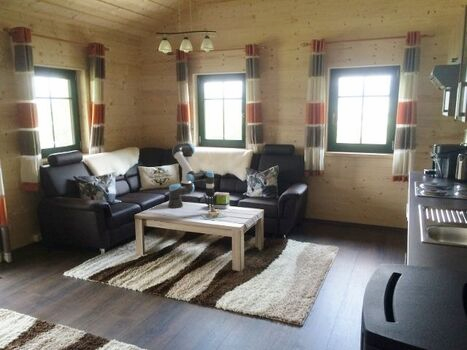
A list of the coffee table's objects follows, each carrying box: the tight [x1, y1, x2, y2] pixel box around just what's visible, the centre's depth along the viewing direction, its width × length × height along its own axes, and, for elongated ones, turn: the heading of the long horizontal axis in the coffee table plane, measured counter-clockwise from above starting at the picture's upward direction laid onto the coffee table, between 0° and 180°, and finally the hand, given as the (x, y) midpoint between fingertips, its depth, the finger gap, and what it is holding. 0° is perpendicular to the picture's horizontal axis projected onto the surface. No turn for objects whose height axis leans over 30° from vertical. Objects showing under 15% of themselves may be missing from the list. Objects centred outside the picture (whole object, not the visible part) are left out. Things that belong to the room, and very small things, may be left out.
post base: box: [200, 207, 227, 220], centre depth 349 cm, size 16×20×8 cm
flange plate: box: [208, 208, 220, 218], centre depth 352 cm, size 17×8×4 cm, turn 12°
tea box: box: [212, 191, 230, 210], centre depth 378 cm, size 15×10×15 cm
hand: (210, 211), depth 357 cm, fingers closed
